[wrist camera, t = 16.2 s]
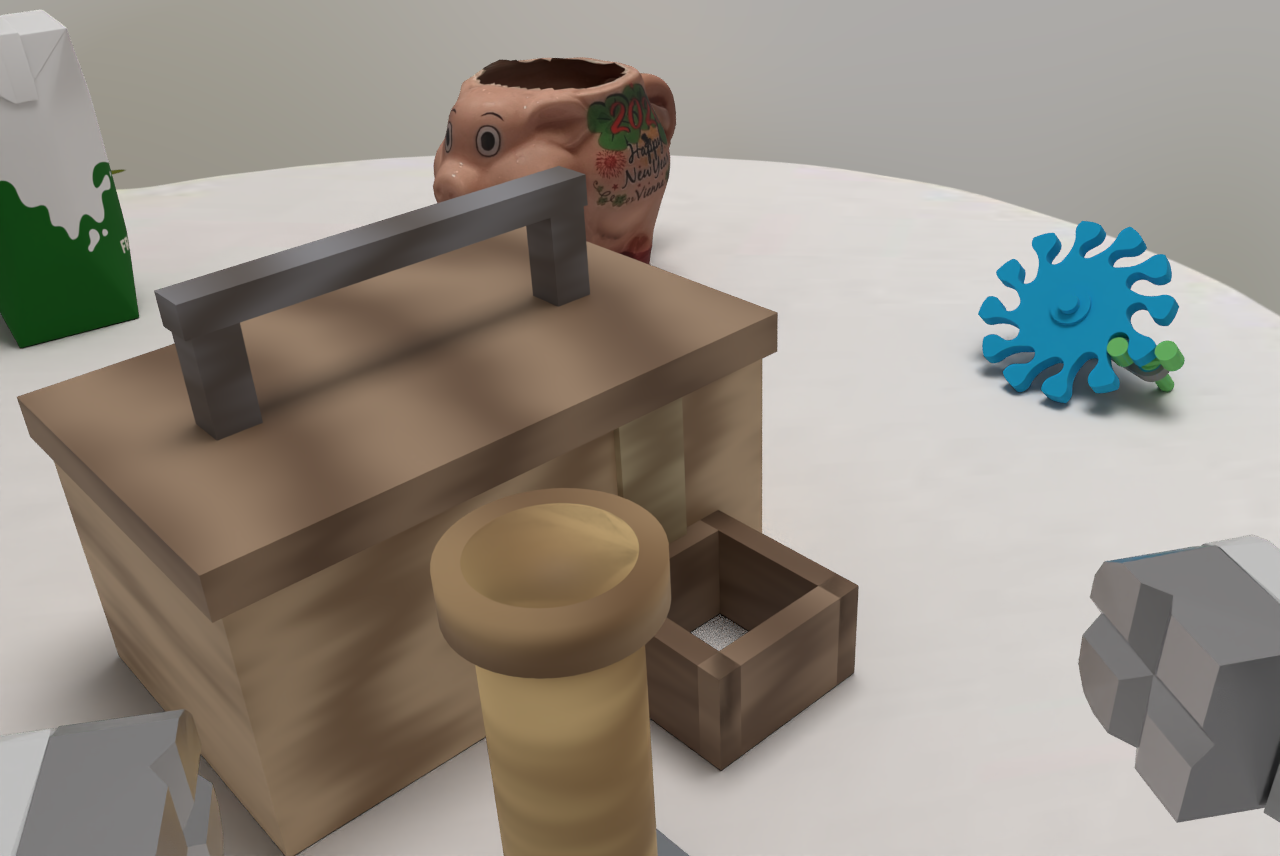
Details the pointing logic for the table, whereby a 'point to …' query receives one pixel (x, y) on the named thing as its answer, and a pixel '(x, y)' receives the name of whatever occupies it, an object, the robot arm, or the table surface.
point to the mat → (667, 846)
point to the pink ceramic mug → (566, 139)
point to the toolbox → (424, 490)
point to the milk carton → (55, 193)
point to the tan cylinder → (561, 662)
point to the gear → (1083, 315)
